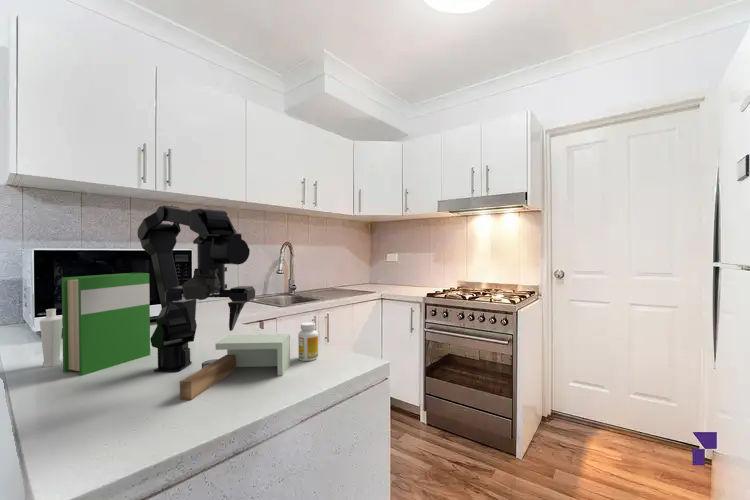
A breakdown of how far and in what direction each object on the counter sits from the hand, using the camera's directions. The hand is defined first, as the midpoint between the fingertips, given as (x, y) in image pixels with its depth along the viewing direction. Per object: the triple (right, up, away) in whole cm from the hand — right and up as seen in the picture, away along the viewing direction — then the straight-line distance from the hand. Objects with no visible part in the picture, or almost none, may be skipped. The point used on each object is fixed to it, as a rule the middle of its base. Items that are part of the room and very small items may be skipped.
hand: (211, 330), depth 81 cm
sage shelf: (+8, -12, +7) cm, 16 cm away
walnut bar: (0, -12, -1) cm, 12 cm away
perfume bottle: (-50, -13, +13) cm, 53 cm away
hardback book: (-35, -12, +14) cm, 39 cm away
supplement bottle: (+19, -12, +16) cm, 28 cm away
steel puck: (-3, -12, +6) cm, 14 cm away
